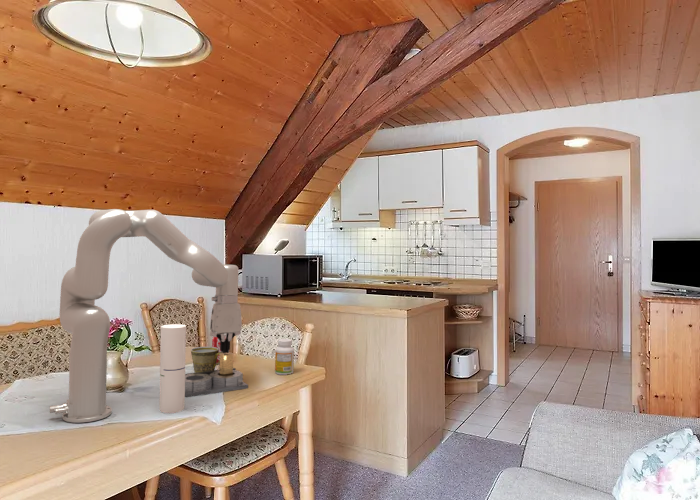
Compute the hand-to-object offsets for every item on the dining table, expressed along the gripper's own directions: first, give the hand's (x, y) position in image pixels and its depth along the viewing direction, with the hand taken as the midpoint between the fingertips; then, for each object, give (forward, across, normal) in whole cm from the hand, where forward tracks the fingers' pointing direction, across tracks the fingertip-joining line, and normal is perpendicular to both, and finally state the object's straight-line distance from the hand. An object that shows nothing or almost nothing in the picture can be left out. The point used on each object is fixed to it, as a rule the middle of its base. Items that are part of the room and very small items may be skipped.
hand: (224, 352), depth 178 cm
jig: (+12, -5, 0) cm, 13 cm away
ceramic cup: (+12, -1, +15) cm, 19 cm away
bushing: (+11, +1, 0) cm, 11 cm away
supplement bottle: (+12, +26, +6) cm, 29 cm away
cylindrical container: (+12, -22, -16) cm, 30 cm away
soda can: (+12, +10, +33) cm, 37 cm away
